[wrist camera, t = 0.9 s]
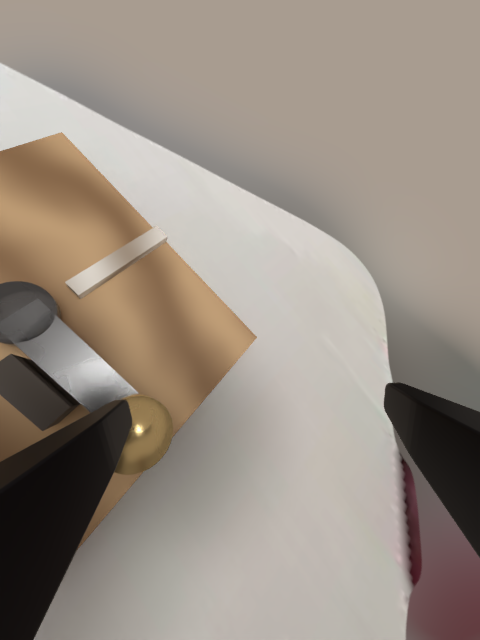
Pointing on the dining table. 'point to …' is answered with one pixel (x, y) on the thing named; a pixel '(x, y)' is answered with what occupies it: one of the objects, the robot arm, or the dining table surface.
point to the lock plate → (102, 299)
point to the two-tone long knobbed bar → (81, 371)
